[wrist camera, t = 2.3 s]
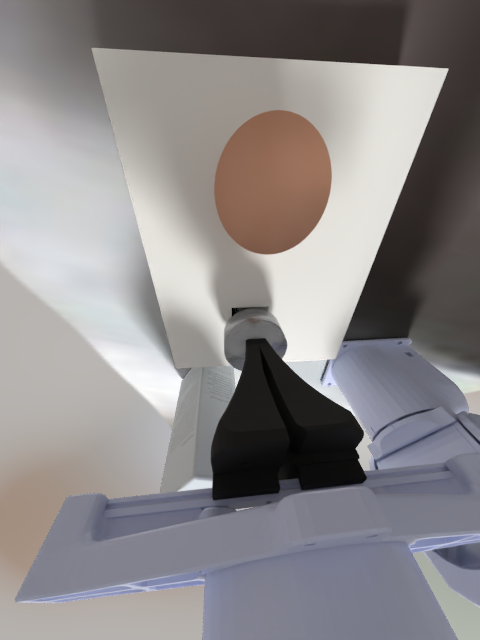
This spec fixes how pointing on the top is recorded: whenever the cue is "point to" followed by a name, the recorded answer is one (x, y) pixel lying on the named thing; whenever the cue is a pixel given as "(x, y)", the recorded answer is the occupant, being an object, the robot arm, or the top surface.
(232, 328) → the plug
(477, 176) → the top surface
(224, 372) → the skincare box
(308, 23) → the top surface
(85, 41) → the top surface
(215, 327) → the panel
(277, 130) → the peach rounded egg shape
